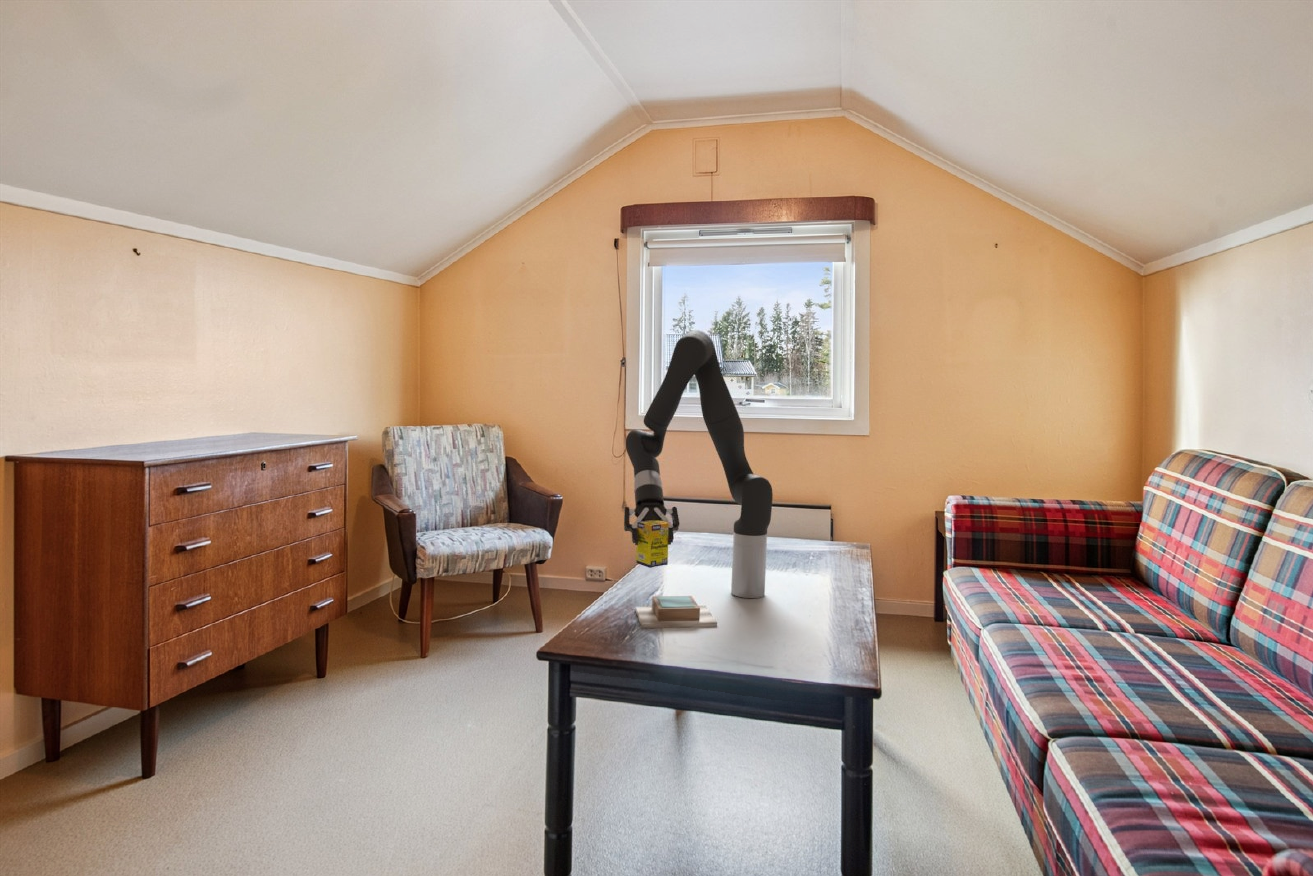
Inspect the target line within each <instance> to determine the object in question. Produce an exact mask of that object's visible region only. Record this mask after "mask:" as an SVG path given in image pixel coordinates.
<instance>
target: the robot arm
mask: <svg viewBox="0 0 1313 876" xmlns="http://www.w3.org/2000/svg"><path fill="white" fill-rule="evenodd" d="M670 359H671V360H670V362H669V365H668V367H667V371H666V373H665V376H664V378H663V381H662V383H661V384H660V387H659V388H658V391H657V392H656V394H655V395H654V398H653V400H652V401H651V403H650V405H649V407H648V409H647V411H646V413H645V415H644V417H643V423H644V425H645V427H646V428H648V429H649V430H650V431H652V432H653V433H652V432H648V431H644V430H641V429H632V430H631V431H629V433H627V435H626V437H625V449H626V452H627V453H626V454H627V455H628V458H629V461H630V462H631V465H632V467H633V475H634V476H633V477H634V482H633V493H634V499H635V500H634V501H635V504H634V505H635V508H630V507H629V506H626V507H624V511H623V516H624V517H623V525H624V526H623V530H624V531H625V532H630V533H631V542H632V544H634V546H637V545H638V529H637V522H638V521H648V520H660V521H663V522H667V523H669V529H668V546H670V545H672V543H673V542H674V532H676V531H679V527H680V519H679V513H678V508H677V507H676V506H673V507H672V508H666V507H665V501H664V491H663V482H662V478H661V473H660V463H659V460H658V459H656V458H658V457H659V456H660V455H661V453H662V452H663V448H664V442H665V439H666V438H665V437H666V434H667V429H668V427H669V425H670V423H671V422H672V420H673V417H674V415H676V414H675V413H676V412H677V410H678V408H679V405H680V402H681V399H682V396H683V394H684V392H685V390H686V387H687V386H688V384H689V382H690V381H691V379H693V377H695V380H696V382H697V386H698V390H699V399H700V408H701V414H702V418H703V422H704V424H705V426H706V429H707V431H708V434H709V436H710V438H711V441H712V442H713V445H714V448H715V451H716V452H717V455H718V458H719V459H720V462H721V465H722V468H723V471H724V474H725V479H726V482H727V485H728V488H729V492H730V495H731V497H732V499H733V501H734V502H735V503H737V505H740V506H741V508H740V516H739V518H738V519H737V520H735V521H734V522H733V534H732V535H733V539H732V540H733V541H732V562H731V563H732V566H731V570H732V571H731V584H730V585H731V587H730V588H731V590H730V592H731V593H730V594H732V595H733V596H735V597H739V598H744V599H757V598H758V599H759V598H762V597H764V596H765V592H766V591H765V590H766V570H767V566H766V565H767V546H768V545H767V544H768V543H767V542H768V541H767V540H768V537H767V536H768V528H769V526H770V524H771V518H772V509H773V508H772V507H773V498H774V495H773V487H772V485H771V483H770V481H769V480H768V479H767V478H765V477H763V476H759V475H756V474H754V472H753V470H752V468H751V466H750V464H749V461H748V459H747V456H746V451H745V432H744V430H745V429H744V426H743V422H742V420H741V417H740V414H739V412H738V410H737V408H736V405H735V403H734V401H733V397H732V395H731V393H730V390H729V387H728V385H727V383H726V381H725V378H724V375H723V373H722V369H721V366H720V363H719V359H718V355H717V351H716V347H715V344H714V342H713V339H712V337H710V335H709V334H708V333H706V332H705V331H704V330H700V329H694V330H690V331H688V332H687V333H686V334H685V335H683V336H681V337H680V338H679V339H678V341H677V342H676V343H675V346H674V349H673V353H672V355H671V358H670ZM667 515H668V516H669V517H670V518H671V521H672V522H671V521H669V519H668V517H667ZM633 516H635V517H636V519H635V521H634V523H632V524H631V523H630V518H632V517H633Z"/></svg>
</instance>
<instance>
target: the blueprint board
mask: <svg viewBox="0 0 1313 876" xmlns="http://www.w3.org/2000/svg"><path fill="white" fill-rule="evenodd" d="M651 601H652V602H651V603H652V605H651V606H635V613H636V616H637V617H638V620H639V623H640V626H641V628H642V629H652V628H653V629H655V628H656V629H657V628H659V629H661V628H662V629H663V628H701V627H702V628H704V627H707V628H708V627H710V628H711V627H713V628H714V627H718V621H717V620H716V619H715V617H714V616H713V614H712V612H710V610H709V609H708V607H707V606H706V605H698V603H697V602H696V601H695V599H694V598H693V595H677V596H676V595H674V596H673V595H671V596H669V595H667V596H662V595H661V596H652V599H651Z"/></svg>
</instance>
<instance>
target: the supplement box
mask: <svg viewBox="0 0 1313 876" xmlns="http://www.w3.org/2000/svg"><path fill="white" fill-rule="evenodd" d="M637 529H638V545H636V564H638V565H641V566H643V567H646V568H649V569H651V568H657V567H661V566H668V563H669V559H668V558H669V545H668V529H669V523H667V522H663V521H660V520H648V521H638V522H637Z"/></svg>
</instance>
